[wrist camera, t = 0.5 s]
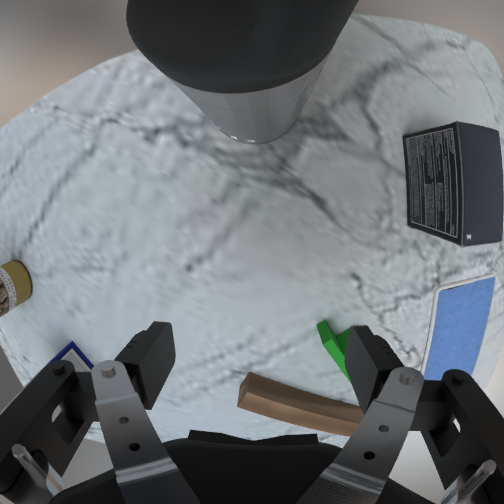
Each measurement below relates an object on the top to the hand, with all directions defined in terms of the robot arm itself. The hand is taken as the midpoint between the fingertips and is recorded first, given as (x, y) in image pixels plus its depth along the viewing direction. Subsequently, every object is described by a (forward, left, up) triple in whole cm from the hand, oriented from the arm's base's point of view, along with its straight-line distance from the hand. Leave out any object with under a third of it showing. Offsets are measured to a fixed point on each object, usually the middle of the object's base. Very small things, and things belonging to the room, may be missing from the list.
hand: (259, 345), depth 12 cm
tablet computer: (0, +32, -19) cm, 38 cm away
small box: (-15, +14, -19) cm, 28 cm away
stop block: (+17, +16, -18) cm, 30 cm away
